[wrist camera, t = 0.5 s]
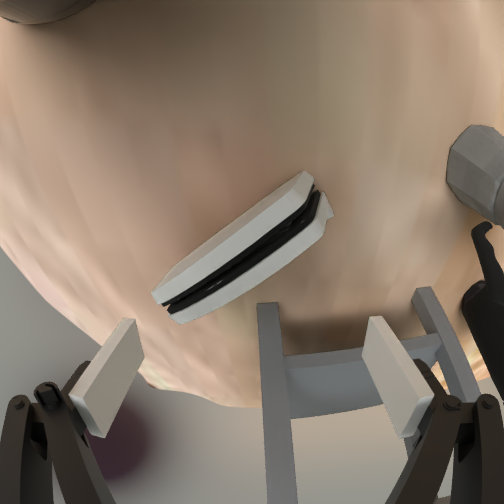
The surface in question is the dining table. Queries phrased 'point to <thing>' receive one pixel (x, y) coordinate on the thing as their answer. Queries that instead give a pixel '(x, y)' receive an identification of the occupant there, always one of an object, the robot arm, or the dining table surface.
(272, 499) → the side table
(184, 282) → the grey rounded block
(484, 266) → the coffeepot
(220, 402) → the dining table surface
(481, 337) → the portable speaker
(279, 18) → the dining table surface
